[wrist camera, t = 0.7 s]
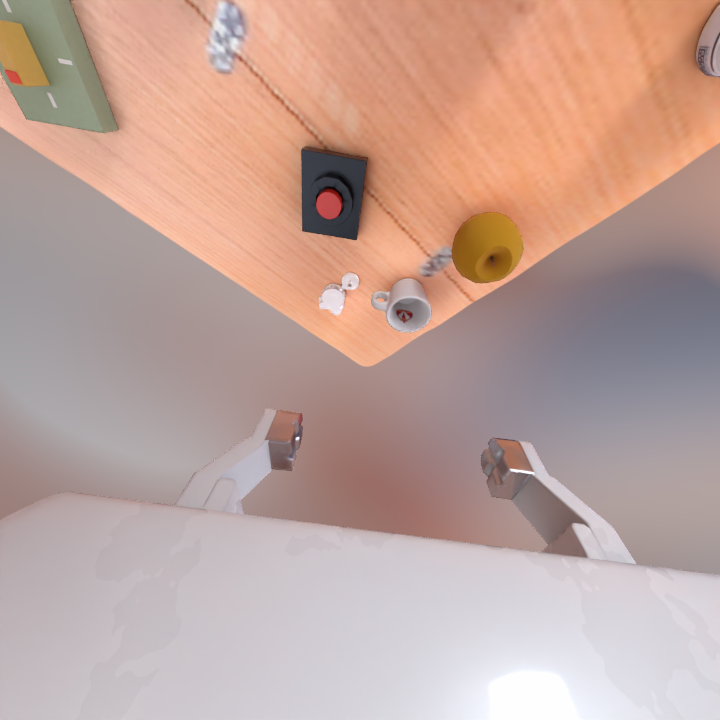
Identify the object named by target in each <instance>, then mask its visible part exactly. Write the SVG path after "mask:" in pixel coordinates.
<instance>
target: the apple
mask: <svg viewBox="0 0 720 720" xmlns="http://www.w3.org/2000/svg"><path fill="white" fill-rule="evenodd" d="M522 253H523V240H522V235H521V234H520V232H519V230H518V228H517V226H516V225H515V224H514V222H513V221H512V220H511V219H510V218H508V217H507V216H506V215H503V214H501V213H491V212H486V213H482V214H478V215H474V216H473V217H471V218H470V219H468V220H467V221H465V222H464V223H463V225H462V226H461V227H460V229H459V230H458V231H457V233H456V235H455V238H454V242H453V247H452V259H453V262H454V264H455V267H456V269H457V270H458V271H459V273H460V274H461V275H462V276H463V277H465V278H467V279H469V280H471V281H472V282H475V283H489V282H494V281H499V280H502V279H503V278H505V277H506V276H508V275H509V274H510V273H511V272H512V271H513V270H514V268H515V267H516V266H517V264H518V262H519V261H520V259H521V257H522Z"/></svg>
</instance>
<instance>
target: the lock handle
mask: <svg viewBox="0 0 720 720" xmlns="http://www.w3.org/2000/svg"><path fill="white" fill-rule="evenodd" d="M0 61H1V63H2V65H3V67H4V69H5V70H4V71H5V72H6V74H7V76H8V78H9V80H10V82H11V83H13V84H14V85H18V86H24V87H33V86H50V84H49V82H48V79H47V77H46V75H45V73H44V71H43V69H42V67H41V65H40V62H39V60H38V58H37V56H36V54H35V52H34V50H33V48H32V45H31V43H30V41H29V39H28V37H27V35H26V33H25V31H24V28H23V26H22V24H20V23H15V22H10V21H4V20H0Z"/></svg>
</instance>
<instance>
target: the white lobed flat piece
mask: <svg viewBox="0 0 720 720" xmlns="http://www.w3.org/2000/svg"><path fill="white" fill-rule="evenodd" d="M358 285H359V278H358V276H357V275H356V274H354V273H346V274H345V275H344V276H343V278H342V286H340V285H338V284H329V285H327V286H326V287H325V288H324V290H323V292H322V294H323V295H321V296H320V297H319V307H320V308H321V309H323V310H325V309H330V310H331V312H332V314H334V315H339V314H340V313H341V311H342V310H343V308H344V303H343V302H344V301H345V300H344V299H345V298H344V297H346V296H345V295H346V293H345V291H344V290H345V289H348V290H354V289H356V288H357V287H358ZM329 286H330V287H329ZM327 287H328V288H327ZM326 289H327V290H326ZM342 291H343V292H342ZM343 295H344V296H343Z"/></svg>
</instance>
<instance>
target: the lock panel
mask: <svg viewBox="0 0 720 720" xmlns="http://www.w3.org/2000/svg"><path fill="white" fill-rule="evenodd" d="M0 20H4V21H10V22H15V23H20V24H22V26H23V28H24V31H25V33H26V35H27V37H28V39H29V41H30V43H31V45H32V48H33V50H34V52H35V54H36V56H37V58H38V60H39V62H40V65H41V67H42V69H43V71H44V73H45V75H46V77H47V79H48V82H49V84H50V86H33V87H24V86H18V85H14V84H13V83H11V82H10V80H9V78H8V76H7V74H6V72H5V71H4V70H5V69H4V67H3V65H2V63H1V61H0V72H1V74H2V76H3V77H4V79H5V81H6V83H7V85H8V87H9V88H10V90H11V92H12V94H13V96H14V98H15V99H16V101H17V103H18V105H19V107H20V108H21V110H22V112H23V114H24V116H25V118H26V119H27V120H33V121H38V122H44V123H50V124H55V125H61V126H67V127H72V128H78V129H84V130H89V131H95V132H101V133H106V132H111V131H116V130H118V127H117V124H116V122H115V119H114V117H113V114H112V111H111V109H110V106H109V103H108V101H107V98H106V95H105V93H104V90H103V87H102V85H101V82H100V79H99V77H98V74H97V71H96V69H95V66H94V63H93V61H92V58H91V55H90V53H89V50H88V48H87V45H86V42H85V40H84V37H83V34H82V32H81V29H80V26H79V24H78V21H77V18H76V16H75V13H74V10H73V8H72V5H71V2H70V0H0Z"/></svg>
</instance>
